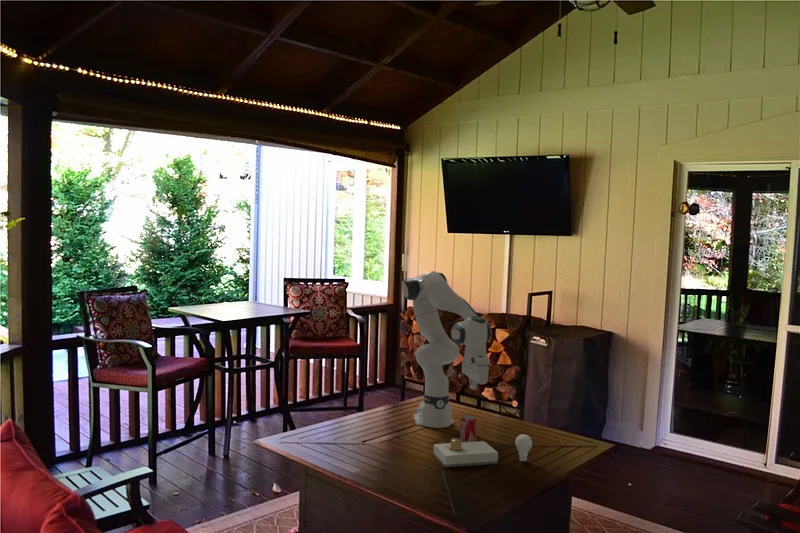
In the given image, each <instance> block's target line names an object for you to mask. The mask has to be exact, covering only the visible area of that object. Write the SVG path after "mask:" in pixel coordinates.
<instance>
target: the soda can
mask: <svg viewBox="0 0 800 533" xmlns="http://www.w3.org/2000/svg"><path fill="white" fill-rule="evenodd" d="M459 423H460V425H459V439H461V440H462V442H477V431H478V430H477V428H478V427H477V424H478V422H477V419H476V416H475V415H471V414H469V415H468V414H466V415H462V416H461V419H460V422H459Z"/></svg>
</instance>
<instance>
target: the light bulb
mask: <svg viewBox="0 0 800 533" xmlns="http://www.w3.org/2000/svg"><path fill="white" fill-rule="evenodd" d="M514 443H515V447H516V449H517V451H518V456H519V459H518V460H519V461H520V462H522V463H525V462H526V461H527V460H528V454H529V452H530V450H531V449H532V446H533V440H532V438H531V437H530V436H529V435H528V434H519V435H517V437H516V438H515V441H514Z"/></svg>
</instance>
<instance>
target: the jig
mask: <svg viewBox="0 0 800 533" xmlns="http://www.w3.org/2000/svg"><path fill="white" fill-rule="evenodd" d="M432 455H433V456H434V457H435V458H436V460H438V461H439V463H440V464H441V465H442V466H443V467H445V468H452V467H453V468H454V467H455V468H456V467H468V466H481V465H485V466H486V465H497V464H498V461H499V452H498V451H497V450H496V449H494V448H493V447H492V446H491V445H489V444H488V443H487V442H485V440H480V441H476V442H462V444H461V451H452V450H450V442H447V443H433V454H432Z"/></svg>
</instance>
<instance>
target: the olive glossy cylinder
mask: <svg viewBox="0 0 800 533" xmlns="http://www.w3.org/2000/svg"><path fill="white" fill-rule="evenodd" d="M449 443H450V450H452V451H461V444H462V440H461V439H460V437H459V438H458V437H452V438H451V439H450V442H449Z"/></svg>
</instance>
